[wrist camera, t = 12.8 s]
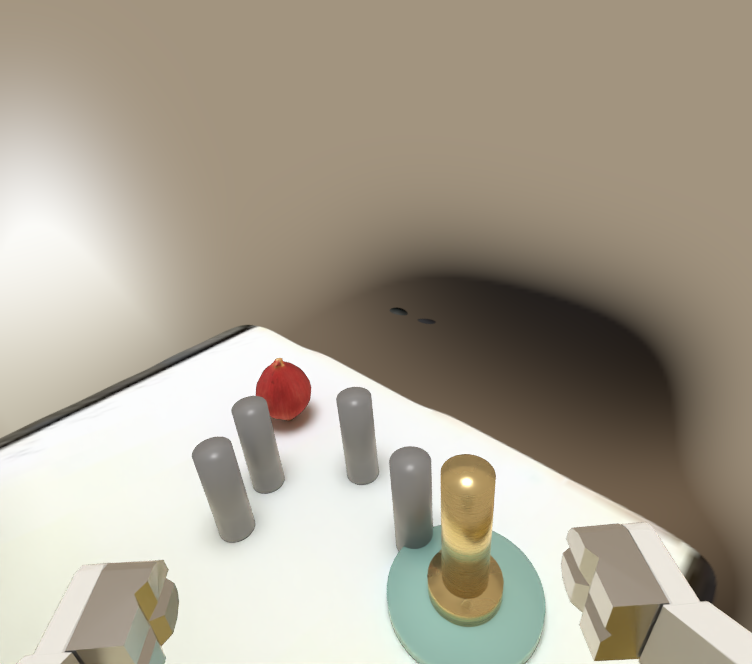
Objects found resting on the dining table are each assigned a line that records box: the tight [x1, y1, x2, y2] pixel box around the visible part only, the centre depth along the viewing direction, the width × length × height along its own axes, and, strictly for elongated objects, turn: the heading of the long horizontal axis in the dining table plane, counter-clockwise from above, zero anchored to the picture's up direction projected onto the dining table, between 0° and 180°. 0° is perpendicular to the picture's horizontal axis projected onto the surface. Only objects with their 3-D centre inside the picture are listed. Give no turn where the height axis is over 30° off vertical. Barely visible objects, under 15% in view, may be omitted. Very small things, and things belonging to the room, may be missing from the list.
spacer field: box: [192, 387, 433, 551], centre depth 41 cm, size 18×11×9 cm, turn 93°
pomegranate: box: [256, 358, 311, 421], centre depth 53 cm, size 6×6×8 cm
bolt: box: [427, 454, 504, 627], centre depth 32 cm, size 5×5×12 cm
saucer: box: [387, 525, 545, 664], centre depth 35 cm, size 11×11×1 cm
